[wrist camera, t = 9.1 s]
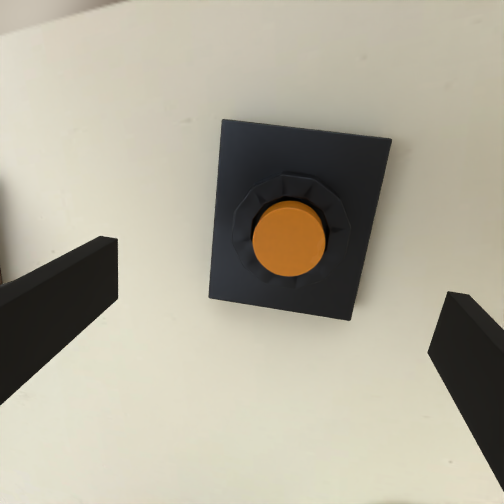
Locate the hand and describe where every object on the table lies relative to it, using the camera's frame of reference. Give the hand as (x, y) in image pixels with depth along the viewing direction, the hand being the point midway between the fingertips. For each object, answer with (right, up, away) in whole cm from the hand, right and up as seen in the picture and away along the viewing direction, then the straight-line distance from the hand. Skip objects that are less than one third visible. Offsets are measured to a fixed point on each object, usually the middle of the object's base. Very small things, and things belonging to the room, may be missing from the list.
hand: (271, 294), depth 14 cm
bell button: (+1, +3, +7) cm, 8 cm away
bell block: (+2, +4, +11) cm, 12 cm away
